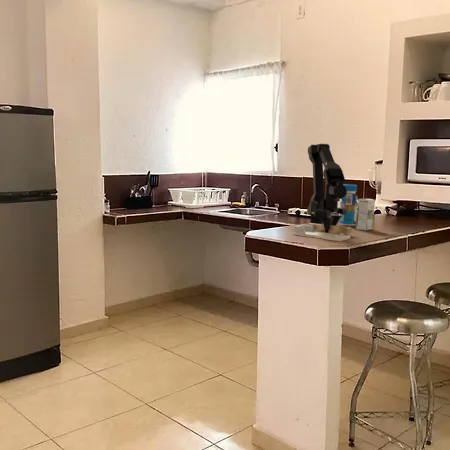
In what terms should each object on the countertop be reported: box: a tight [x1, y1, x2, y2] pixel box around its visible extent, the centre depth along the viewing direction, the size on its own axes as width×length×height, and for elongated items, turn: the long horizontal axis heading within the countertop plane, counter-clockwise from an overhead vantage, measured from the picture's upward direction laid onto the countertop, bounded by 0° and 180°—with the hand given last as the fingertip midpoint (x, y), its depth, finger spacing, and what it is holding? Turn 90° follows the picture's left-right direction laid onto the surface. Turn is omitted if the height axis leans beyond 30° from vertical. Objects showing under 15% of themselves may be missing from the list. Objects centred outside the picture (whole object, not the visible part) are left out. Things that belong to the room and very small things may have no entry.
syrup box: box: [355, 198, 376, 231], centre depth 258 cm, size 6×6×14 cm
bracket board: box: [292, 224, 351, 242], centre depth 233 cm, size 10×22×4 cm, turn 51°
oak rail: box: [307, 222, 352, 237], centre depth 240 cm, size 18×4×4 cm, turn 61°
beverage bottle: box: [338, 183, 359, 227], centre depth 273 cm, size 8×8×20 cm
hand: (329, 231), depth 240 cm, fingers open, 4 cm apart
